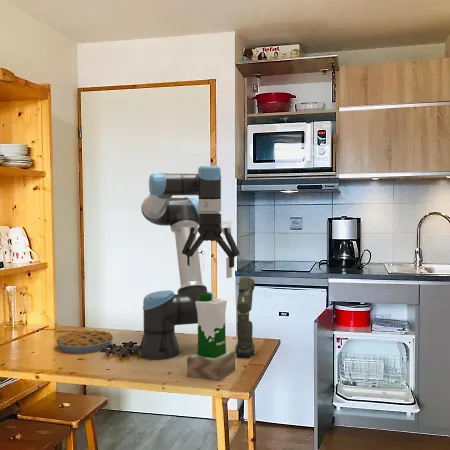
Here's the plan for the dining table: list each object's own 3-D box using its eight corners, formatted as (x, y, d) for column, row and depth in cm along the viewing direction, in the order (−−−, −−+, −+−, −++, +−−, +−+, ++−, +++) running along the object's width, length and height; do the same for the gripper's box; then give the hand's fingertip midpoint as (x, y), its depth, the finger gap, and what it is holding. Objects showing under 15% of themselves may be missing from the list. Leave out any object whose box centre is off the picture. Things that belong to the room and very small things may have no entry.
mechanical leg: (250, 359, 183) (253, 275, 189) (231, 358, 185) (234, 275, 191) (256, 357, 197) (258, 279, 202) (237, 356, 198) (240, 278, 204)
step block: (187, 376, 169) (187, 356, 168) (203, 365, 180) (203, 347, 179) (220, 381, 164) (220, 361, 163) (235, 369, 175) (235, 351, 174)
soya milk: (208, 348, 178) (207, 291, 177) (230, 352, 173) (229, 293, 172) (193, 355, 170) (192, 295, 169) (216, 359, 165) (215, 298, 164)
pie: (79, 358, 190) (79, 345, 190) (45, 348, 203) (44, 336, 203) (124, 345, 207) (124, 332, 207) (89, 337, 221) (89, 325, 220)
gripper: (171, 213, 171) (172, 276, 172) (240, 212, 161) (240, 280, 162) (182, 212, 178) (183, 273, 179) (249, 212, 168) (249, 276, 169)
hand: (210, 276), depth 170 cm, fingers open, 13 cm apart
